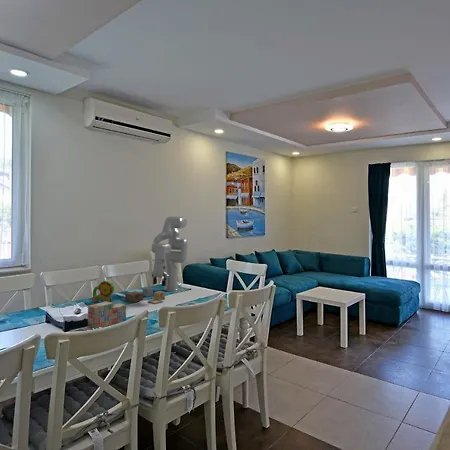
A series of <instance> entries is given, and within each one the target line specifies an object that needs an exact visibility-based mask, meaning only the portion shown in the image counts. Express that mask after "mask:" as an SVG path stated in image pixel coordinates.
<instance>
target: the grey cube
mask: <svg viewBox="0 0 450 450" xmlns="http://www.w3.org/2000/svg"><path fill="white" fill-rule="evenodd" d="M142 293H143V297H152V296H154V288H153V287H150V286H148V287H142Z"/></svg>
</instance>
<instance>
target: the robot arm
mask: <svg viewBox="0 0 450 450" xmlns="http://www.w3.org/2000/svg"><path fill="white" fill-rule="evenodd" d="M187 223H188V221H187V217H185V216H168V217H166V218H165V221H164V224H163V227H162V230H161V232H160V233H158V234H157V235H156V236H155V237H154V238H153V241H152V244H151V252H152V253H153V254H154V263H153V268H152V269H153V270H152V271H151V272H150V273H151V277H152V284H153V285H158V278H161V287H164V286H165V287H164V288H163V291H166V292H175V291H176V292H178V291H180V287H181V286H182V285H183V284H182V283H178V277H179V276H178V272H179V271H178V270H179V269H178V266H177V264H185V263H186V262H187V257H188V240H187V239H186V238H180V231H179V230H178V229H184V228H185V227H186V226H187V225H188V224H187ZM167 239H168V243H161V242H163V241H165V240H167Z"/></svg>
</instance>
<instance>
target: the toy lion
mask: <svg viewBox="0 0 450 450" xmlns="http://www.w3.org/2000/svg"><path fill="white" fill-rule="evenodd" d="M97 290H99V293H98V294H97ZM114 292H115V286H114V285H113V283H112V282H111V281H109V280H107V279H106V280H103V281H101V282H100V283H99V284H98V285H97V286H95V287H94V288H93V290H92V297H91V301H92V303H95V302H99V301H100V300H101V301H103V302H106V301H107V302H111V303H112V301H113V297H112V296H111V295H113V293H114Z"/></svg>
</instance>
